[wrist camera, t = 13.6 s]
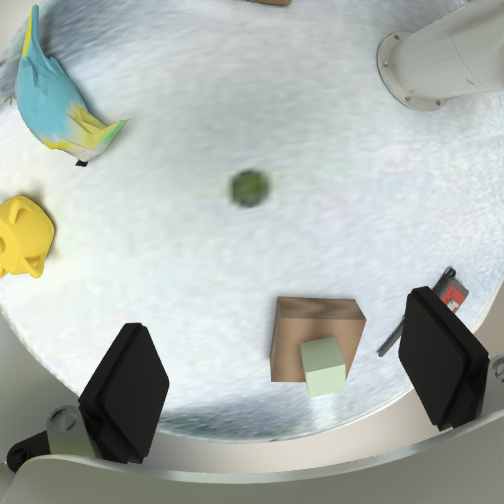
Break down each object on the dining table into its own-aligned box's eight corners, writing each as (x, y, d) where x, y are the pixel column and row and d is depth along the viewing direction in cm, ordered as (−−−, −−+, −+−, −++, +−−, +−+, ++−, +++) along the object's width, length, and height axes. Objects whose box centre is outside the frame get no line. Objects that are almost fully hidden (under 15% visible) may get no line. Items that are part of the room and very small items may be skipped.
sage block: (334, 335, 38) (345, 364, 32) (336, 361, 39) (345, 389, 34) (299, 343, 38) (305, 372, 32) (303, 368, 40) (309, 397, 34)
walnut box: (354, 298, 42) (366, 319, 37) (337, 357, 47) (345, 380, 41) (277, 295, 42) (281, 317, 37) (269, 356, 46) (271, 381, 41)
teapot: (18, 262, 41) (-16, 286, 31) (4, 196, 36) (-34, 211, 27) (67, 261, 40) (31, 289, 31) (53, 185, 36) (10, 198, 26)
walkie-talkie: (442, 259, 40) (373, 349, 46) (456, 269, 36) (380, 365, 42) (466, 281, 41) (401, 362, 48) (479, 291, 37) (410, 377, 43)
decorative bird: (82, 190, 36) (45, 203, 28) (8, 74, 28) (-26, 71, 19) (145, 123, 33) (115, 118, 25) (57, 14, 25) (25, -1, 16)
